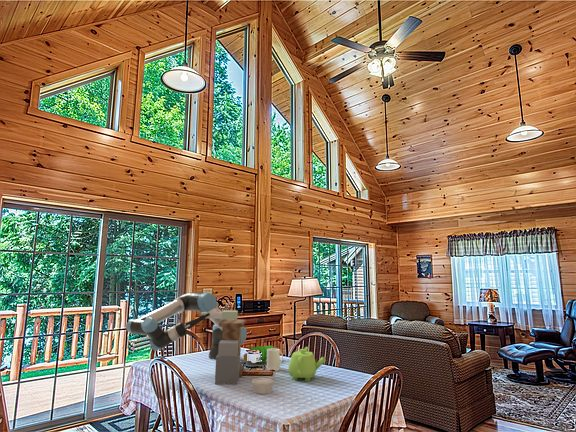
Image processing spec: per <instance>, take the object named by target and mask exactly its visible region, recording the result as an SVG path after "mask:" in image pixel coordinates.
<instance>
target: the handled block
mask: <svg viewBox="0 0 576 432" xmlns="http://www.w3.org/2000/svg"><path fill="white" fill-rule="evenodd" d="M221 311H222V313H217V312H216V313H215V314H213V315H212V316H210V317H208V318H207V319H209V318H215V319H238V314H239V313H238V312H239V311H238V310H230V309H229V310H225V309H224V310H221ZM205 313H207V312H202V313H201V314H200V316H202V315H203V314H205Z"/></svg>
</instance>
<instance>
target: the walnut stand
mask: <svg viewBox="0 0 576 432" xmlns="http://www.w3.org/2000/svg"><path fill="white" fill-rule="evenodd" d="M245 323H246V319H244V318H243V319H241V318H240V319H239V318H237V319H223V320H222V321H221V322H220V323H219V327H223V329H222V340H239V342H238V353H240V354H241V349H242V347H241V345H242V344H241V327H244V325H245ZM242 371H244V365H241V364H240V365H239V378H242V375H243V372H242Z"/></svg>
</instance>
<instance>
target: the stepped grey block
mask: <svg viewBox="0 0 576 432" xmlns="http://www.w3.org/2000/svg"><path fill="white" fill-rule="evenodd" d="M238 342H239V340H221V341H220V342H219V349H218V355H217V356H216V359H215V373H214V374H215V375H214V385H238V383H239V380H240V377H239V365H240V366H241V352H240V353H238Z"/></svg>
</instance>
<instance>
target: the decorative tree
mask: <svg viewBox="0 0 576 432" xmlns="http://www.w3.org/2000/svg"><path fill="white" fill-rule="evenodd" d="M270 348H276V349H278V347H275V346H273V345H264V346H263V345H260V346H258V345H256V346H255V347H254V346H251V347H250V349H249V350H259V351H261V352H262V354H261V356H262V357H261V360H262V362H261V363H266V362H267V349H270ZM247 353H248V352H247ZM247 353H244V354H243V360H244V361H245V362H248V361H247Z"/></svg>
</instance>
